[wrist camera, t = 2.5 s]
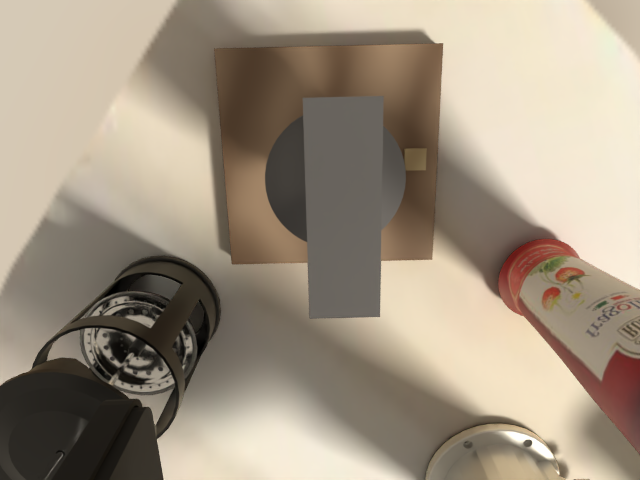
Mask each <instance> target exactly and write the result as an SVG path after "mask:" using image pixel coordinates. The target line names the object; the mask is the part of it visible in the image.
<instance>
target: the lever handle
mask: <svg viewBox="0 0 640 480" xmlns="http://www.w3.org/2000/svg"><path fill="white" fill-rule="evenodd" d="M383 102H384V96H360V97H316V98H303V115H302V116H301V117H299V118H297V119H296V120H295V121H293V122H292V123H291V124H290V125H289V126H288V127H287V128H286V129H285V130H284V131H283V132H282V133H281V134H280V136H279V137H278V138H277V140H276V141H275V143H274V145H273V147H272V149H271V151H270V154H269V156H268V160H267V163H266V170H265V187H266V193H267V197H268V201H269V203H270V206H271V208H272V210H273V212H274V214H275V215H276V217H277V218H278V220H279V221H280V222H281V224H282V225H283V226H284V227H285V228H286V229H287V230H288V231H290V232H291V233H292V234H293V235H295V236H296V237H298V238H300V239H301V240H303V241H306V242H307V253H308V284H309V316H310V319H313V318H354V317H380V281H381V230H382V229H383V228H384V227H385V226H386V225H387V224H388V223H389V222H390V221H391V219H392V218H393V217H394V215H395V214H396V212H397V210H398V208H399V206H400V204H401V201H402V198H403V195H404V190H405V183H406V170H405V164H404V159H403V156H402V153H401V150H400V148H399V146H398V144H397V142H396V141H395V139H394V137H393V136H392V135H391V133H390V132H389V131H388V130H387V129H386V128H385V127H384V126H383Z"/></svg>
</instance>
